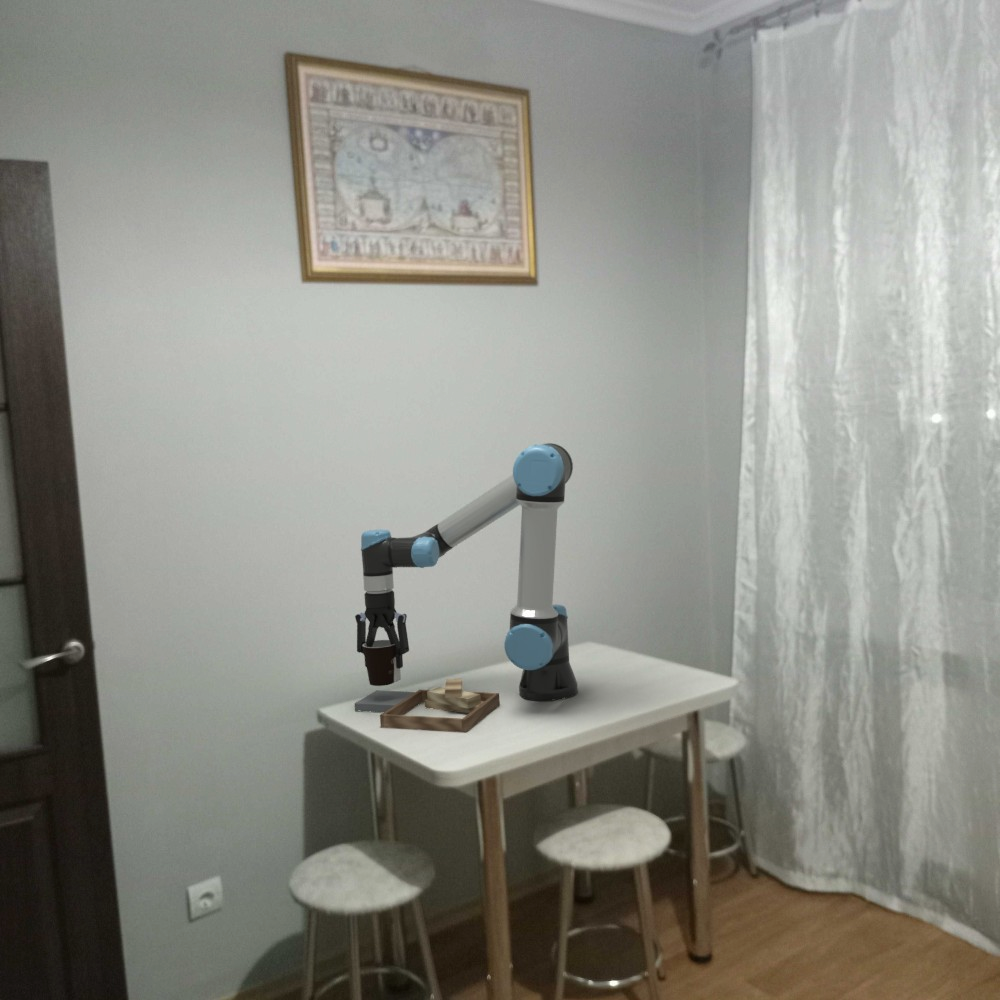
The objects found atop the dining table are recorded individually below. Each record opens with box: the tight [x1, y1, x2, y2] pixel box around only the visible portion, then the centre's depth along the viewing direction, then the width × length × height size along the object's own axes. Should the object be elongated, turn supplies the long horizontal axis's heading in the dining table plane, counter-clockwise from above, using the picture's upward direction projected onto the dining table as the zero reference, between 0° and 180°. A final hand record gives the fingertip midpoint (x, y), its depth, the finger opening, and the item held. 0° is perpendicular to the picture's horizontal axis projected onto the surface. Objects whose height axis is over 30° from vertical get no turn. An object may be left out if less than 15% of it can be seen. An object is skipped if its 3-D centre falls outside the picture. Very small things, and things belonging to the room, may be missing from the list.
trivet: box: [353, 690, 416, 713], centre depth 252 cm, size 12×12×2 cm
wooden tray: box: [379, 689, 501, 733], centre depth 240 cm, size 22×22×3 cm
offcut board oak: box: [424, 699, 484, 714], centre depth 246 cm, size 16×5×2 cm, turn 59°
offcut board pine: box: [427, 686, 481, 709], centre depth 245 cm, size 14×5×2 cm, turn 49°
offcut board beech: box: [444, 678, 463, 698], centre depth 245 cm, size 10×4×2 cm, turn 1°
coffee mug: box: [363, 639, 395, 687], centre depth 251 cm, size 12×9×10 cm
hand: (384, 679), depth 252 cm, fingers closed on coffee mug, 6 cm apart
